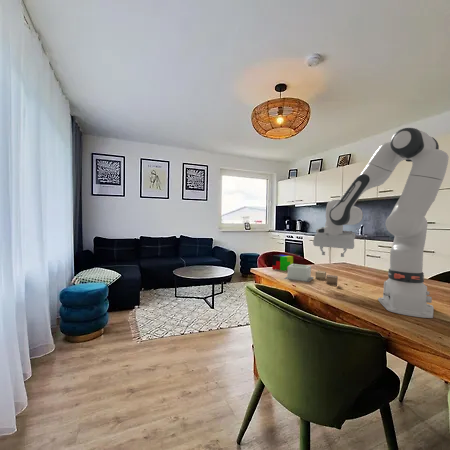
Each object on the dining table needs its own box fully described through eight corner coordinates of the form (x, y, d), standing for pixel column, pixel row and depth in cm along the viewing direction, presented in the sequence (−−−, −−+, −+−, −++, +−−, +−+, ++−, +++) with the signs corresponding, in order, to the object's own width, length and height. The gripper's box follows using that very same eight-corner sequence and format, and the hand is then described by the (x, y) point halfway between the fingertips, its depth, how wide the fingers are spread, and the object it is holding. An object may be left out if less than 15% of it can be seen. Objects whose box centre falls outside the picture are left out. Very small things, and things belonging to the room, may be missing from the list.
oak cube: (324, 281, 143) (324, 273, 143) (315, 280, 145) (315, 272, 145) (325, 280, 147) (326, 271, 147) (316, 279, 150) (317, 270, 150)
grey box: (306, 281, 139) (307, 268, 139) (287, 278, 144) (287, 266, 144) (310, 277, 148) (310, 265, 148) (292, 275, 154) (292, 263, 154)
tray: (309, 283, 137) (309, 282, 137) (283, 280, 144) (283, 278, 144) (313, 278, 149) (313, 277, 149) (290, 276, 156) (290, 274, 156)
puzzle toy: (281, 268, 182) (281, 254, 182) (292, 270, 174) (293, 256, 174) (272, 269, 176) (272, 255, 175) (284, 272, 168) (284, 257, 168)
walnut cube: (336, 287, 132) (336, 277, 131) (326, 285, 134) (326, 276, 134) (337, 285, 136) (337, 275, 136) (327, 283, 138) (327, 274, 138)
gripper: (355, 231, 132) (354, 257, 133) (315, 229, 142) (314, 253, 143) (355, 231, 127) (354, 258, 127) (313, 229, 137) (312, 254, 137)
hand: (332, 255), depth 135 cm, fingers open, 8 cm apart
